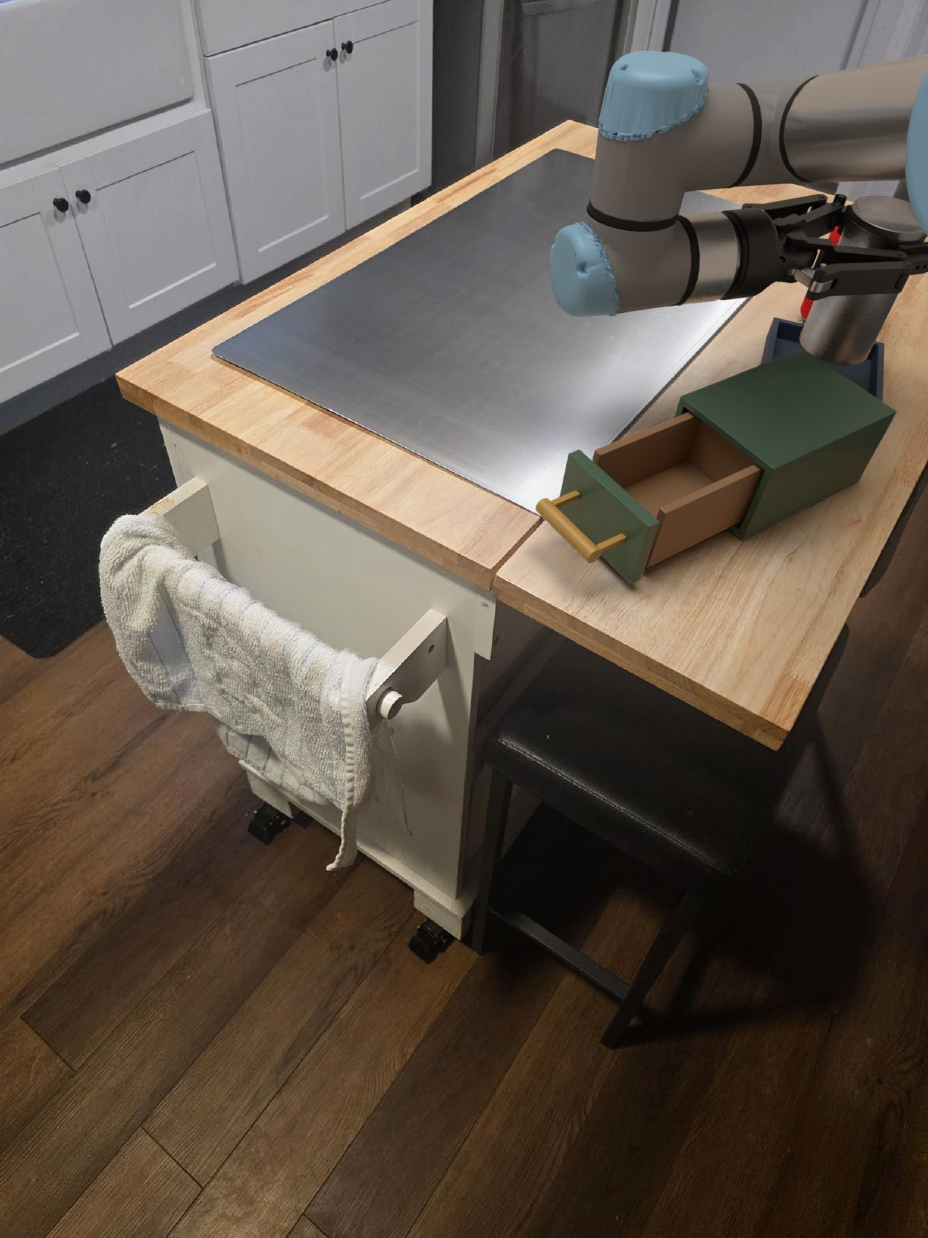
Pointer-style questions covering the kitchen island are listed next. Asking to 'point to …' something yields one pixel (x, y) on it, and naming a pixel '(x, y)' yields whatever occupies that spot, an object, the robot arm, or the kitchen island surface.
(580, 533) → the drawer
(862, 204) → the silver tall cylinder
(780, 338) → the tray
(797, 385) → the cabinet
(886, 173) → the robot arm
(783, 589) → the kitchen island surface
